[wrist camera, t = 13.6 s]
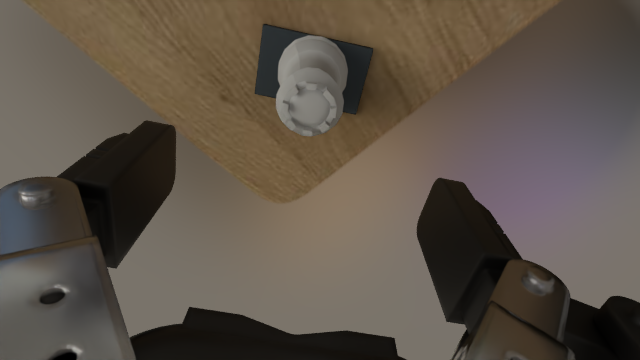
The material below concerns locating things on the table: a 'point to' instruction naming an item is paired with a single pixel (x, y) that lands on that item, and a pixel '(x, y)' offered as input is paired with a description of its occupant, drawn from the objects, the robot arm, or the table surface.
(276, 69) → the slate mat
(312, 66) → the rook chess piece
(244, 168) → the table surface
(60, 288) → the robot arm
